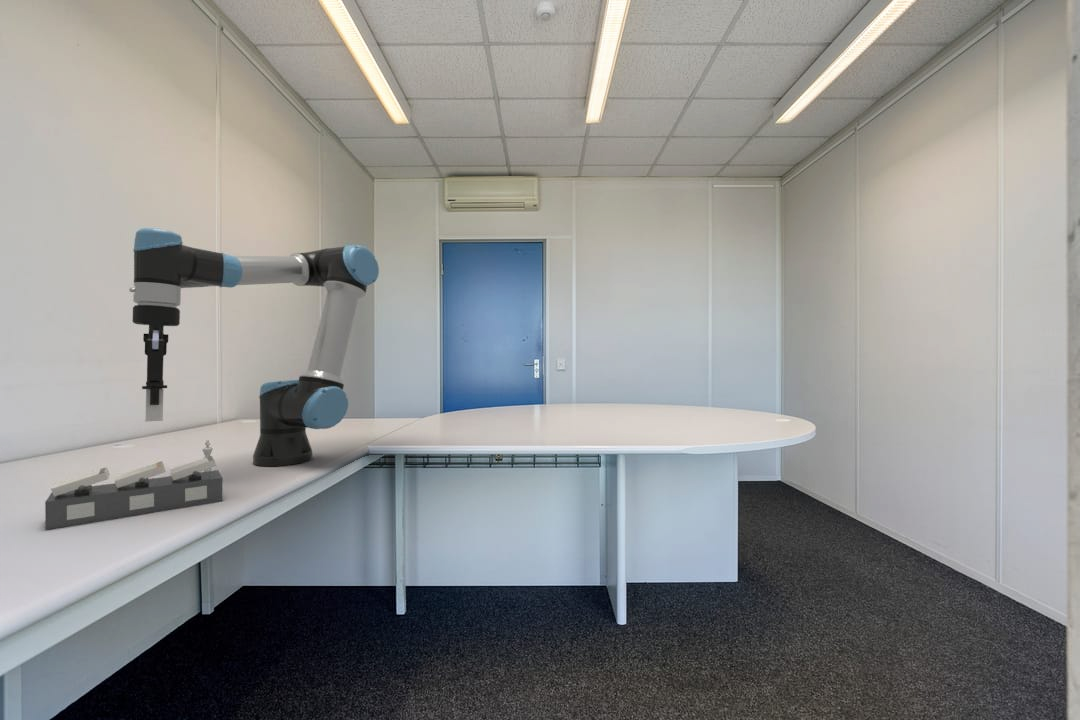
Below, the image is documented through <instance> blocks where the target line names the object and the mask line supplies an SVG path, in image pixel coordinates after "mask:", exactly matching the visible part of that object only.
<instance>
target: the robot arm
mask: <svg viewBox="0 0 1080 720" xmlns="http://www.w3.org/2000/svg"><path fill="white" fill-rule="evenodd" d="M133 243H134V245H133V287H129V289H128V291H129V292H130V293H133V303H135V305H133V307H132V323H133V324H135V325H140V326H141V325H142V326H148V333H143V338H142V339H143V342H144V355H146V358H147V359H146V360H147V361H146V362H147V363H146V381H145V385H142V386H141V390H145V422H161V421H163V420H164V417H163V415H164V389H168V385H166V384H164V383H165V382H164V357H165V356H166V355H167V352H168V351H167V345H168V343H169V334H164V332H165V331H164V328H165V327H177V326H179V325H180V324H181V323H180V322H181V321H180V319H181V315H180V314H181V310H180V309H179V307H180V306H181V291H182V289H189V288H205V287H206V288H207V287H209V288H210V287H219V288H230V289H231V288H235V287H237V286H247V285H250V286H251V285H271V284H273V285H274V284H291V283H292V284H294V285H295V286H296V287H297V286H298V287H303V286H304V287H305V286H307V287H308V286H311V287H324V288H325V290H326V291H327V293H326V297H325V300H324V305H323V307H322V312H321V315H320V320H319V324H318V328H317V331H316V335H315V340H314V343H313V347H312V351H311V354H310V355H311V356H310V358H309V363H308V365H307V370H306V371H305V372H303V373H302V374H300V375H299V377H298V379H292V380H291V379H290V380H288V379H287V380H280V381H270V382H265V383H262V384H261V386H260V389H259V397H258V398H259V438H258V441H257V443H256V446H255V449H254V452H253V455H252V464H254V466H259V467H260V466H261V467H280V466H281V467H283V466H290V465H296V464H302V463H306V462H308V461H309V462H310V461H311V460H312V459H313V449H312V445H311V444H310V440H309V437H308V435H307V431H306V429H307V428H308V429H311V430H322V429H323V430H326V429H331V428H333V427H335V426H337V425H338V424H339V423H341V422H342V421H343V419H344V418H345V416H346V414H347V412H348V409H349V399H348V397H347V393H346V391H344V385H345V383H344V381H343V379H342V378H341V374H342V370H343V366H344V362H345V357H346V352H347V349H348V344H349V341H350V337H351V332H352V329H353V323H354V320H355V319H354V318H355V315H356V312H357V308H358V307H357V306H358V304H359V303H358V302H359V299H362V298H364V297H365V296H366V292H367V289H368V286H370V285H372V284H373V283H375V282H376V281H377V280H378V277H379V273H380V272H379V271H380V270H379V268H380V267H379V264H378V260H377V259H376V256H375V255H374V253H373V252H372V251H371V250H370V249H369V248H368V247H365V246H363V245H360V244H358V245H357V244H356V245H355V244H347V245H346V246H345V245H344V246H339V247H329V248H322V249H318V250H313V251H308V252H307V251H306V252H293V253H291V254H290V255H289V256H288V255H287V256H286V255H285V256H280V255H278V256H277V255H275V256H273V255H272V256H271V255H270V256H268V255H267V256H266V255H265V256H264V255H263V256H260V255H259V256H256V255H254V256H251V255H247V256H246V255H243V256H241V255H240V256H239V255H234V256H233V255H230V254H226V253H224V252H217V251H213V250H212V251H211V250H208V249H207V250H206V249H201V248H195V247H191V246H187V245H184V244H183V243H184V242H183V240H182V236H181V234H179V233H177V232H173V231H172V230H169V229H162V228H154V227H145V228H141V229H140V228H139V229H138V230H137V231H136V232H135V237H134V242H133ZM177 307H178V308H177Z"/></svg>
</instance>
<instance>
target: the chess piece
mask: <svg viewBox="0 0 1080 720" xmlns="http://www.w3.org/2000/svg"><path fill="white" fill-rule="evenodd" d="M204 446H205V447H204V448H202V452H203V454H204V457H203V458H202V459H204V458H207V457H209V456H212V455H211V454H212V452H213V447H210V446H211V443H210V440H209V439H207V440H206V441H205V442H204ZM207 471H212V468H209V469H206V470H203V472H207Z"/></svg>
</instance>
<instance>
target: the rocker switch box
mask: <svg viewBox="0 0 1080 720" xmlns="http://www.w3.org/2000/svg"><path fill="white" fill-rule="evenodd" d="M219 501H220V502H223V476H222V475H221V472H220V471H219V470H218V469H217V470H211V471H207V472H204V471H200V472H198V474H197V475H193V474H191V475H188V476H186V477H183V478H180V479H177V480H174V481H173V478H172V476H171V475H169V476H162V477H161V476H160V477H155V478H154V477H153V478H152V477H151V478H150V477H149V478H146V479H145V481H144V482H139V481H137V482H134V483H131V484H128V485H125V486H122V487H119V488H117V486H116V484H115V482H114V483H106V484H99V485H93V484H92V485H89V486H86V487H85V489H84V490H79V489H76V490H73V491H70V492H67V493H64V494H61V495H57V496H54V495H53V493H52V492H51V493H50V494H49V496H48V498H47V499H46V500H45V501H44V502H45V503H44V504H45V505H44V507H45V509H44V510H45V511H44V512H45V520H44V521H45V523H44V524H45V531H47V530H55V529H60V528H66V527H67V528H68V527H72V526H80V525H85V524H86V525H87V524H91V523H97V522H103V521H109V520H115V519H121V518H129V517H132V516H133V517H134V516H138V515H139V516H140V515H145V514H153V513H158V512H165V511H170V510H178V509H183V508H189V507H194V506H195V505H196V506H200V505H201V506H202V505H206V504H214V503H218V502H219Z"/></svg>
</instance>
